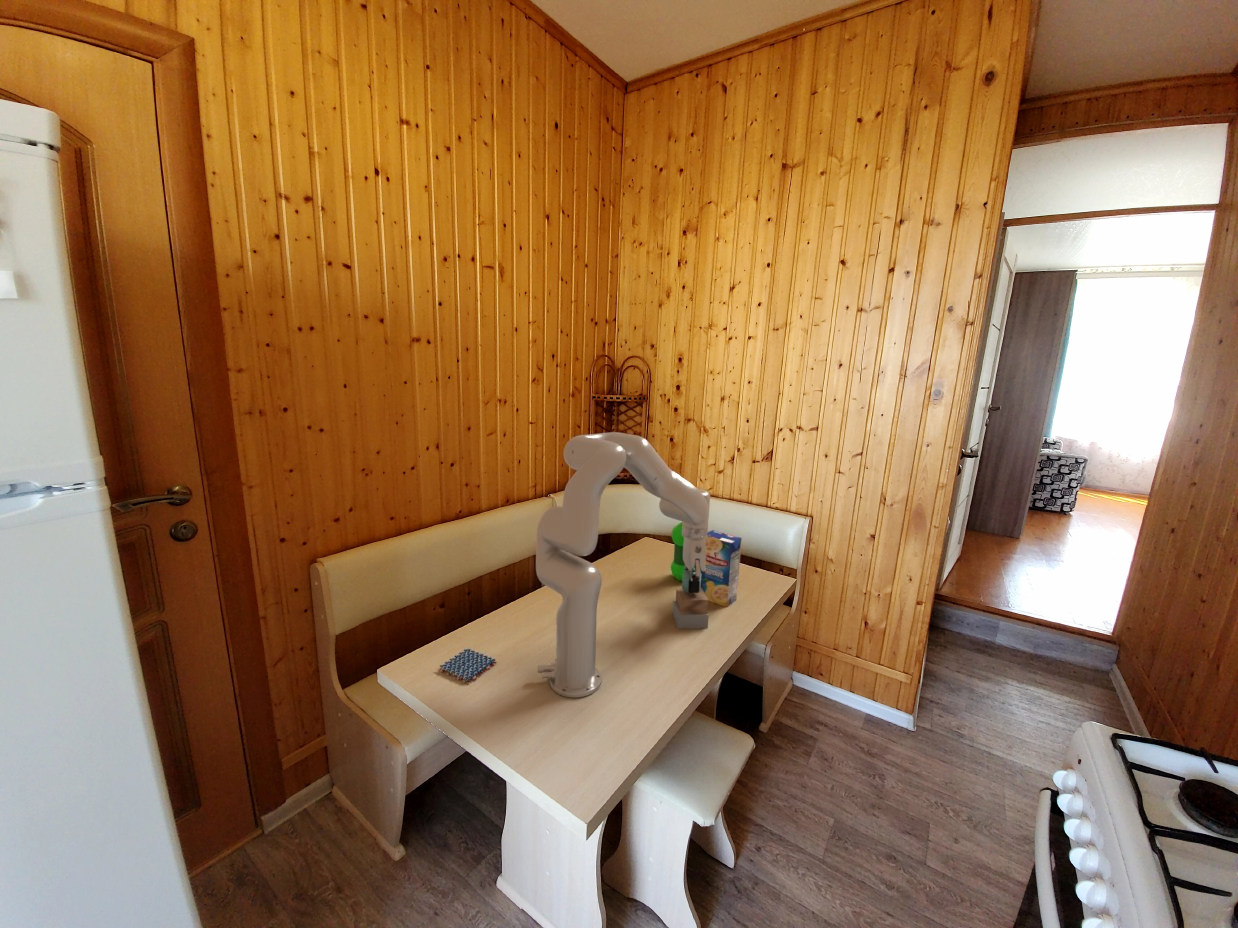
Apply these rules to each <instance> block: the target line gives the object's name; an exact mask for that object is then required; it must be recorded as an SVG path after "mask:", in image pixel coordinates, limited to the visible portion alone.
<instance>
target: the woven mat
mask: <svg viewBox="0 0 1238 928" xmlns="http://www.w3.org/2000/svg"><path fill="white" fill-rule="evenodd" d="M496 664H497V661H496V659H495V658H494V657H491V656H489V655H486V654H483V653H480V652H478V651H475V650H473V649H471V648H466V649H463V651H461V652H459V653H458V654H457V655H454V657H453V658H449V660H447V661H444V664H440V665H439V667H440V668H439V672H440V673H444V675H446V676H450V677H452V679H453V680H455V679H456V680H457V681H458V680H460V681H461V682H462V683H463V684H465V683H467V684H468V685H469V684H472V682H474V681H476V680H477V679H478V678H479V677H481V676H482V675H484V674H485V673H486V672H487V671H489V670H491V669H492V668H493V667H494V666H496Z"/></svg>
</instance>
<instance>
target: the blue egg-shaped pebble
mask: <svg viewBox="0 0 1238 928" xmlns="http://www.w3.org/2000/svg"><path fill="white" fill-rule="evenodd" d="M694 574H695V572H693V575H694ZM689 580H690V571H689V570H685V571H684V572H683V580H682V581H681V583H682V585H681V588H682V589H683V590H684V591H685V592H688V585H689ZM700 587H701V576H700V586H699V591H700ZM688 593H689V592H688Z"/></svg>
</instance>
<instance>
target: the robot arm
mask: <svg viewBox="0 0 1238 928" xmlns="http://www.w3.org/2000/svg"><path fill="white" fill-rule="evenodd" d="M563 459H564V461H565V464H566V465H567V466H568V467H569V468H571V469H573V470H574V471H575V472H574V474H573V475H572V476H571V477H570V478H569V480H568V482H567V483H566V485H565V489H564V492H563V498H562V506H560V505H559V506H552V507H550V508H548V509H547V510H546V511H545V512H544V513H543V514H542V515H541V518H540V520H539V522H538V524H537V528H536V529H537V531H536V550H535V552H536V553H535V571H536V576H537V578H538V580H539V581H540V583H541V584H542V585H544V586H546V587H547V588H549V589H551V590H552V591H554V592H556V593H557V594H559V595H561V597H562V602H561V604H560V605H559V607H558V609H557V611H556V618H555V619H556V623H555V625H556V630H555V631H556V642H555V643H556V645H555V646H556V648H555V650H556V651H555V653H556V655H555V659H554V662H551V663H550V664H538V665H537V674H541V678H542V679H549V685H550V687H551V689H552V690H553V691H554V692H555V693H557V695H560V696H563V697H566V698H583V697H586V696H589V695H592V694H594V693H595V692H596V691H597V690H598V689H599V688H600V687H601V684H602V673H601V672H600V671H599V669H598V668H597V667H596V663H597V662H596V659H597V656H596V654H597V651H596V650H597V613H598V602H599V598H600V592H601V588H602V585H603V584H602V581H603V579H602V574H601V573H600V570H599V569H598V568H597V566H595V565H594V564H593V563H592V562H590V561H588V560H586V559H584V558H582V557H587V556H590V555H591V554H592V553H593V552H594V551H595V550H596V547H597V544H598V539H599V525H600V524H599V523H600V507H601V500H602V495H603V493H604V491H605V489H606V487H608V485H609V484H610V483H611V481H613V479H615V478H616V477H617V476H618V475H619V474H620V473H621V472H622V470H624V469H626V470H627V471H628V472H629V474H630V475H632V476H633V478H634V479H635V480H636V482H638V483H639V484H640V486H641V487H642V488H643V489H644V490H645V491H647V492H648V493H649V494H651V495H653V496H655V497H657V498H659V499H660V501H659V505H658V507H659V511H660V512H661V514H663V515H664V516H665V517H666V518H669V519H672V520H676V521H681V522H682V521H683V522H682V536H683V537H684V544H683V561H684V563H685V567H684V570H689V571H690V580H689V585H688V592H689V593H699V586H700V576H701V571H700V569H701V570H702V571H703V572H704V571H705V567H706V542H705V539H706V538H707V533H708V532H709V519H710V518H709V517H710V506H711V505H710V504H711V503H710V502H711V495H710V492H709V491H707V490H705V489H702V488H700V489H699V488H697V487H696V486H695V485H693V484H692V483H691V482H690V481H688V480H686V478H684V477H682V476H681V475H680V474H678V473H677V472H676V471H674V470H672V469H671V468H670V467H669V466H668V465H667V463H666V462H665V461H664V460H663V459H662V457H661V455H660V454H659V453H658V452H657V451H656V450H655V448H654V447H653V446H652V445H651V443H650V442H649V441H648V440H647V439H646V438H644V437H643V436H639V435H635V434H629V433H624V432H618V431H617V432H616V431H611V432H602V433H593V434H590V433H589V434H580V435H576V436H573V437H572V438H570V439H569V440H568V441H567V442H566V444H565V446H564V448H563ZM694 568H695V570H694ZM693 572H695V574H694V575H693Z"/></svg>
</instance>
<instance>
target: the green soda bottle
mask: <svg viewBox="0 0 1238 928" xmlns="http://www.w3.org/2000/svg"><path fill="white" fill-rule="evenodd" d="M682 522H683V521H681V522H680V523H678V524H677V525H676V526H674V527H673V528H672V530H671V539H672V542H673V543H674V548H673V549H674V551H673V560H672V562H671V564H670V571H671V574H672V576H673V577H675V578H676V580H677V581H679V582H680V581H681V582H682V580H683V572H684V571H685V570H684V567H685V563H684V561H683V544H684V537H683V536H682ZM694 570H695V568H694Z"/></svg>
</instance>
